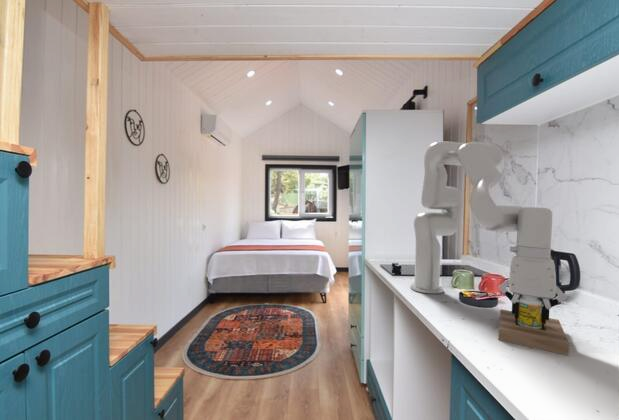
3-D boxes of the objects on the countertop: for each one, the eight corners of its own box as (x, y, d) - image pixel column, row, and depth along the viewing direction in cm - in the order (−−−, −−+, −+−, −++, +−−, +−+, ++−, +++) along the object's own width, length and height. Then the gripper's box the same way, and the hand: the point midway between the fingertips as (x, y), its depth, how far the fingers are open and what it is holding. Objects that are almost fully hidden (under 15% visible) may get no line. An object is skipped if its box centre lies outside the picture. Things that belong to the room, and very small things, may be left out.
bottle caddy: (500, 318, 95) (500, 309, 95) (558, 330, 87) (558, 319, 87) (498, 339, 80) (498, 328, 80) (568, 355, 72) (569, 342, 72)
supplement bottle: (543, 326, 83) (545, 291, 83) (539, 331, 80) (540, 295, 80) (520, 320, 87) (521, 287, 87) (514, 325, 84) (516, 290, 83)
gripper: (495, 251, 85) (492, 316, 85) (576, 259, 75) (573, 332, 76) (496, 248, 91) (493, 308, 91) (571, 255, 82) (568, 322, 82)
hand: (529, 318), depth 84 cm, fingers closed on supplement bottle, 5 cm apart
